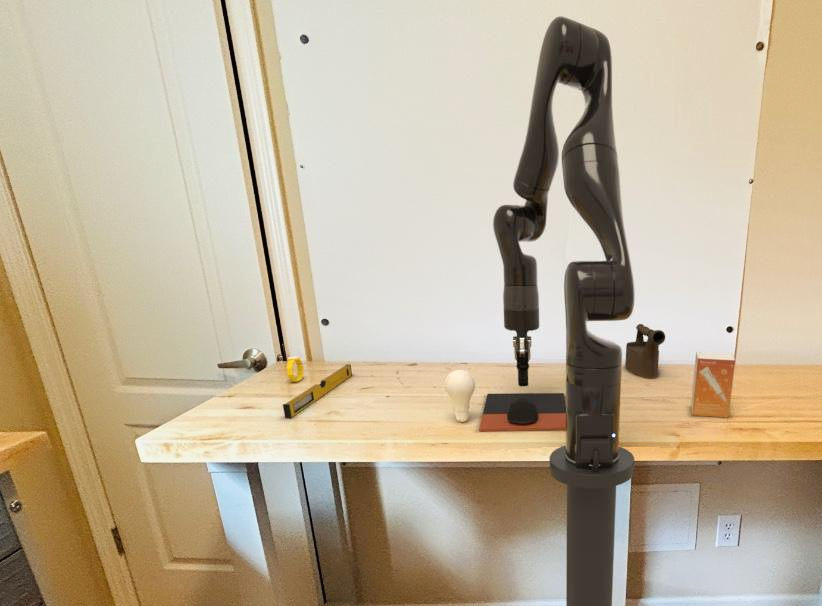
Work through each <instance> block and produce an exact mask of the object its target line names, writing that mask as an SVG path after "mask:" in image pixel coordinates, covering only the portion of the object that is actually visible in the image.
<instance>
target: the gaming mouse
mask: <svg viewBox="0 0 822 606" xmlns="http://www.w3.org/2000/svg"><path fill="white" fill-rule="evenodd" d="M507 419H508V421H509V422H512V423H518V424H527V423H532V422H535V421H537V420H538V410H537V407H536V404H535V403H534V402H532V401H530V400H528V399H526V398H524V397H522V398H520V399H518V400H516V401H514V402H512V403H510V405H509V409H508V412H507Z"/></svg>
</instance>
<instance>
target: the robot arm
mask: <svg viewBox="0 0 822 606" xmlns="http://www.w3.org/2000/svg"><path fill="white" fill-rule="evenodd" d="M534 79H535V80H534V85H533V91H532V97H531V104H530V110H529V116H528V124H527V127H526V128H527V129H526V134H525V137H524V138H525V139H524V143H523V146H522V151H521V153H520V157H519V161H518V164H517V168H516V171H515V174H514V178H513V182H512V188H513V190H514V193H515V194H516V195H517V196H518V197H520V198H522V199H523V200H525V203H524V204H502V205H500V206H499V207H497V208H496V210H495V212H494V215H493V219H492V229H493V234H494V237H495V241H496V244H497V248H498V250H499V254H500V258H501V261H502V267H503V272H502V273H503V291H502V292H503V293H502V302H503V303H502V305H503V326H504V329H505V330H507V331H511V332H513V331H514V332H515V333H516V336H515V335H514V336H513V335H512V347H513V349H514V351H513V353H514V360H515V361H516V367H515V368H516V369H517V384H518V387H528V386H529V369H530V364H529V362H530V360H531V348H532V336H529V335H528V333H529V332H531V331H532V332H533V331H537V330H539V328H540V294H539V286H538V284H539V283H538V260H537V259H536V257H535V256H534V255H532V254H527V253H524V252H523V250H522V248H521V245H520V243H531V242H532V243H533V242H536V241H538V240H539V239H540V238H541V237H542V236H543V234H544V232H545V230H546V227H547V218H548V204H549V203H548V202H549V193H550V190H551V188H552V184H553V182H554V178H555V175H556V172H557V169H558V166H559V160H560V146H559V140H558V135H557V130H556V125H555V121H554V111H553V104H554V103H553V102H554V97H555V91H556V88H557V86H558V84H559V85H563V86H566V87H569V88H571V89H575V90H577V91H580V93H581V94H582V96H583V102H584V109H583V112H582V114H581V116H580V118H579V119H578V121H577V122H576V123H575V125H574V127H573V128H572V130H571V131H570V132H569V134H568V136H567V138H566V139H565V141H564V144H563V146H562V150H561V165H562V168H561V169H562V178H563V189H564V192H565V195H566V197H567V199H568V201H569V203H570V204H571V206H572V208H573V209H574V210H575V212H576V213H577V214H578V215H579V217H580V218H581V220H582V221H583V222H584V223H585V225H586V226H587V227H588V228H589V229H590V230H591V233H593V235H594V236H595V238H596V240H597V241H598V243H599V245H600V248H601V250H602V253H603V257H604V259H605V260H574V261H573V260H572V261H570V262H569V263H568V264H567V266H566V268H565V272H564V276H563V277H564V278H563V296H564V297H563V298H564V313H565V314H564V317H565V404H566V430H565V445H566V452H565V459H566V460H567V461H568V462H569V463H570V464H572V465H575V466H576V468H577V469H581V468H593V471H598V468H612V467H613V464H615V463H616V462H617V461H618V460H619V453H618V452H619V447H620V421H621V420H620V419H621V396H622V395H621V392H622V391H621V390H622V370H623V367H622V366H623V348H622V346H621V345H620V344H619V343H616V342H614V341H613V340H610V339H606V338H603V337H600V336H599V335H596V334H595V333H592V331H590V329H588V322H616V321H617V322H619V321H625V320H628V319H629V318H630V317H631V316H632V315H633V311H634V308H635V301H636V300H635V299H636V290H635V289H636V288H635V279H634V273H633V266H632V262H631V257H630V252H629V250H630V249H629V246H628V239H627V235H626V228H625V222H624V214H623V202H622V190H621V176H620V165H619V156H618V149H617V143H616V134H615V122H614V110H613V109H614V108H613V56H612V48H611V44H610V40H609V39H608V37H607V36H606V34H604V33H603V32H602V31H600V30H598V29H596V28H593V27H590V26H588V25H585V24H583V23H581V22H578V21H577V20H573V19H571V18H568V17H566V16H556V17H555V18H554V19H552V21H551V22H550V23H549V25H548V27H547V29H546V31H545V33H544V37H543V40H542V43H541V47H540V52H539V56H538V63H537V68H536V74H535V78H534Z"/></svg>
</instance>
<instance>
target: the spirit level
mask: <svg viewBox="0 0 822 606" xmlns="http://www.w3.org/2000/svg"><path fill="white" fill-rule="evenodd" d="M350 377H353V372H352V364H347V363H346V364H345V365H344V366H342V367H341V368H339V369H337V370H336V371H335V372H332V373H331V374H329V375H327V376H326V377H325V378H323V379H322V380H320V383H319V384H317V383H316V384H314V385H313V386H311V387H309V388H307V389H306V390H304V391H303V392H302V393H300V394H298V395H297V396H295V397H294V398H291V399H290V400H289V401H287V402H285V403H283V404H282V408H283V409H282V410H283V412H284V413H283V414H284V418H285V419H292V418H293V417H294V416H296V415H297V414H299V413H300V412H301V411H303V410H304V409H306V408H307V407H308V406H310V405H311V404H314V402H316V401H317V400H318V399H320V398H322V397H323V396H324V395H326V394H327V393H328V392H330V391H332V390H333V389H335V388H336V387H337V386H338V385H340V384H342V383H343V382H344V381H346V380H347V379H348V378H350Z"/></svg>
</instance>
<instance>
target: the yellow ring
mask: <svg viewBox="0 0 822 606" xmlns="http://www.w3.org/2000/svg"><path fill="white" fill-rule="evenodd" d="M286 360H287V363H286V374H287V378H288V380H289V381H290V382H291V383H297V382H299V381H301V380H303V377H304V366H303V362H302V361H301V356H295V355H294V356H289V357H287V358H286ZM294 364H295V365H296V370H297V371H296V372H297V373H296V376H295V375H294Z"/></svg>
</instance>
